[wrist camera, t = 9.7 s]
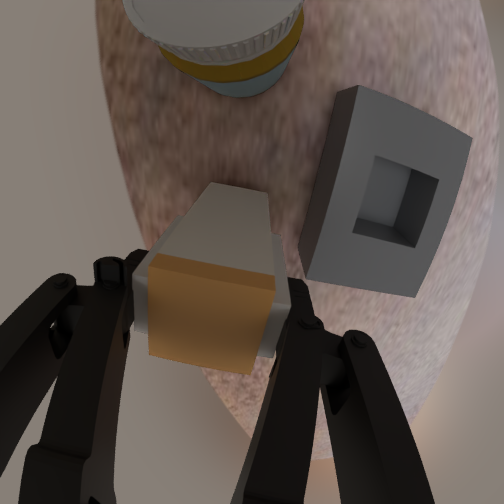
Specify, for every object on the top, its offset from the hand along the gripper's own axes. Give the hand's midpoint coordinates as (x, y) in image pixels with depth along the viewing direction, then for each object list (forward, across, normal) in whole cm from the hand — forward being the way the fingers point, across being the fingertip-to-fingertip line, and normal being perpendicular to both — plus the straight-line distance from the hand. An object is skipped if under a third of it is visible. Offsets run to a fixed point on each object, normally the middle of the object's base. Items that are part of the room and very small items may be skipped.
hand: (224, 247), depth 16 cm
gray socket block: (+9, +11, +4) cm, 15 cm away
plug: (+6, 0, 0) cm, 6 cm away
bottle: (+9, -2, +12) cm, 15 cm away
